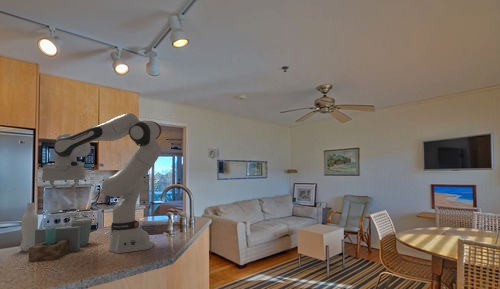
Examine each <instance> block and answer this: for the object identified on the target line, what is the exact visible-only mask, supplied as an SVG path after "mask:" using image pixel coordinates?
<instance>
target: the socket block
mask: <svg viewBox="0 0 500 289" xmlns="http://www.w3.org/2000/svg"><path fill="white" fill-rule="evenodd" d="M68 252H70V251H69V240H55V244H54V245H45V241H43V242H41V243H38V244H36V245H34V246H32V247H30V248H29V251H28V261H27V262H32V261H33V262H35V261H46V260H48V261H49V260H57V259H59V258H60V257H62V256H64V255H66V254H67V253H68Z"/></svg>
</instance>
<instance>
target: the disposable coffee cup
mask: <svg viewBox="0 0 500 289" xmlns="http://www.w3.org/2000/svg"><path fill="white" fill-rule="evenodd" d="M92 224H93V218H91V217H90V216H89V217H88V216H79V217H73V218H72V219H71V221H70V225H71V226H70V227H78V226H81V228H80V247H83V246H85V245H88V244H89V240H90V236H91V235H90V234H91V230H92Z"/></svg>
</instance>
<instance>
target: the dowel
mask: <svg viewBox="0 0 500 289" xmlns="http://www.w3.org/2000/svg"><path fill="white" fill-rule="evenodd" d="M56 228H57V227H55V226H54V227H53V226H51V227H47V228H46V236H45V245H54V244H55V234H56Z"/></svg>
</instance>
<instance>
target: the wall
mask: <svg viewBox="0 0 500 289" xmlns="http://www.w3.org/2000/svg"><path fill="white" fill-rule="evenodd" d="M80 228H81V226H78V227H72V226H66V227H65V226H63V227H56V234H55V240H69V251H68V252H75V251H76V252H77V251H79V250H80V249H81V246H80ZM45 236H46V228H38V229H37V230H35V245H36V244H38V243H41V242H43V241H45Z"/></svg>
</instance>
